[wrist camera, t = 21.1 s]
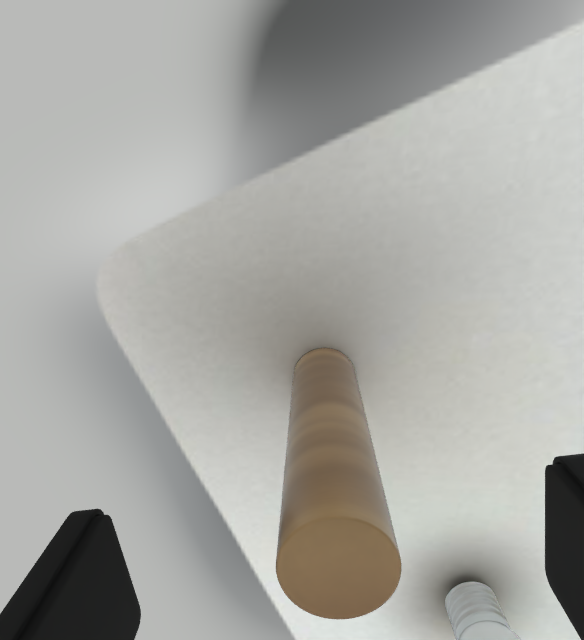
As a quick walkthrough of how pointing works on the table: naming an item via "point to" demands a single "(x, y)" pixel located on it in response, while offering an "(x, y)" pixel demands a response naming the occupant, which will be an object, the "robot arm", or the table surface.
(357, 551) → the tan cylinder
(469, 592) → the lightbulb
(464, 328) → the table surface
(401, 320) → the table surface
